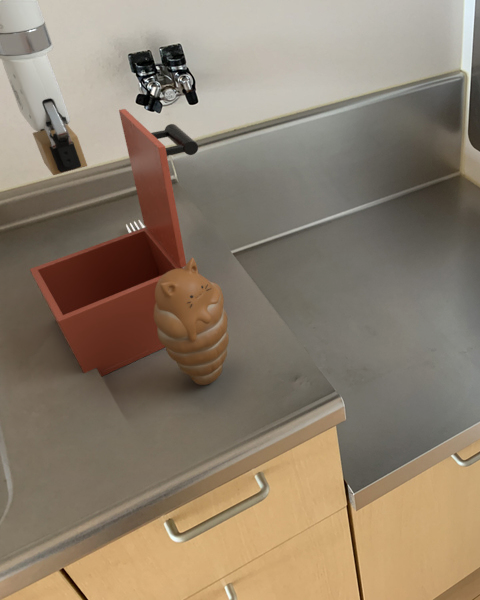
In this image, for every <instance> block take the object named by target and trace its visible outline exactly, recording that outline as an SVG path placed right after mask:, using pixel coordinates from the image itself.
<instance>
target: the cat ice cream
mask: <svg viewBox="0 0 480 600" xmlns="http://www.w3.org/2000/svg"><path fill="white" fill-rule="evenodd" d="M155 300H156V303H155V306H154V321H155V323H156V325H157V334H158V338H159V340H160V342H161V343H162V344H163V345H164V346H165V350H166V353H167V355H168V356H169V357H170V359H171V360H173V362H176V364H177V366H178V367H179V369H180V370H181V372H183V373H184V374H186V375H189V377H190V379H191V380H192V381H193V382H194V383H195V384H197V385H200V386H206V385H209V384H212V383H214V382H215V381H216V380H217V379H218V378H219V377H220V376H221V374H222V372H223V364H224V363H225V361H226V359H227V356H228V349H227V348H228V346H229V342H230V337H229V335H230V334H229V333H228V331H227V330H228V314H227V312H226V310H225V308H224V303H225V299H224V294H223V291H222V288H221V286H220V285H219V284H217V283H216V282H213V281H210V280H209V279H208V278H207V277H204V276H203V275H202V274H200V273H199V270H198V265H197V262H196V260H195V258H194V257H191V258H190V259H189V261H188V262H186V266H185V267H183V268H179V269H173V270H171V271H168V272H167V273H165V274H164V275H163V276H162V277H161V278H160V279H159V280H158V282H157V285H156V288H155Z"/></svg>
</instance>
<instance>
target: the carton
mask: <svg viewBox="0 0 480 600" xmlns="http://www.w3.org/2000/svg"><path fill="white" fill-rule="evenodd" d="M65 125H66V124H65ZM66 127H67V130H68V132H69V135H70V137H71V140H72V142H73V143H74V146H75V149H76V152H77V154H78V157H79V160H80V163H81V167H80V168H76V169H73V170H69V171H65V172H60V171H59V170H58V168H57V166H56V163H55V160H54V158H53V155H52V152H51V150H50V147H52V146H51V144H50V142H49V139H48V137H47V134H46V132H45V130H43V131H39V132H38V131H34V132H32V137H33V139H34V141H35V143H36V146H37V148H38V151H39V153H40V156H41V158H42V161H43V163H44V165H45V167H46V168H47V169H48V170H49V172H50V173H51V175H52V176H57V175H60V174H64V173H68V172H71V171H75V170H78V169H82V168H85V167H88V163H87V160H86V157H85V154H84V152H83V149H82V146H81V144H80V140H79V137H78V135H77V134H76V132H74V131H73V130H72V128H71V127H70V126H69V124H68V125H66ZM50 132H51V134H52V136H53V134H55V131H54V130H51V131H50Z"/></svg>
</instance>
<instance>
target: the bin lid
mask: <svg viewBox="0 0 480 600" xmlns="http://www.w3.org/2000/svg"><path fill="white" fill-rule="evenodd" d="M118 112H119V118H120V122H121V126H122V131H123V135H124V141H125V144H126V148H127V153H128V158H129V163H130V167H131V173H132V176H133V180H134V181H133V182H134V185H135V189H136V194H137V199H138V203H139V207H140V213H141V216H142V222H143V225H144V226H145V227H147V228H148V229H149V230H150V232H151V233H152V234H153V235H154V236H155V238H156V239H157V240H158V241H159V242H160V244H161V245H162V246H163V247H164V248H165V249H166V251H167V252H168V253H169V254H170V255H171V257H172V258H173V259H174V260H175V261H176V262H177V264H178V265H179V266H180V267H181V268H182V267H183V268H185V266H186V264H187V260H186V254H185V250H184V244H183V243H184V242H183V238H182V233H181V227H180V221H179V216H178V209H177V205H176V199H175V194H174V189H173V182H172V177H171V171H170V165H169V161H168V156H173V155H176V154H177V155H178V154H180V153H185V154H186V155H188V156H194V155H195V154H197V152H198V150H199V145H198V143H197V141H195V140H194V139H193V138H191V136H189V135H188V134H187V133H186V132H185V131H184V130H182V129H181V128H180V127H179V126H177V125H176V124H174V123H170V124H167V125H166V126H165V128H164V129H163V130H158V131H154V132H151V131H150V130H148V129H147V128H146V127H145V126H144V125H143V124H142V123H141V122H140V121H139V120H137V118H136V117H134V115H132V114H131V112H129V111H128V110H127V109H126V108H122V109H119V110H118ZM165 138H168V139H169V140H170V141H171V142H172V143H174V144H175V145H173V146H169V147H166V146H165V144H164V143H162V142H161V141H160V140H161V139H165ZM159 139H160V140H159Z"/></svg>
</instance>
